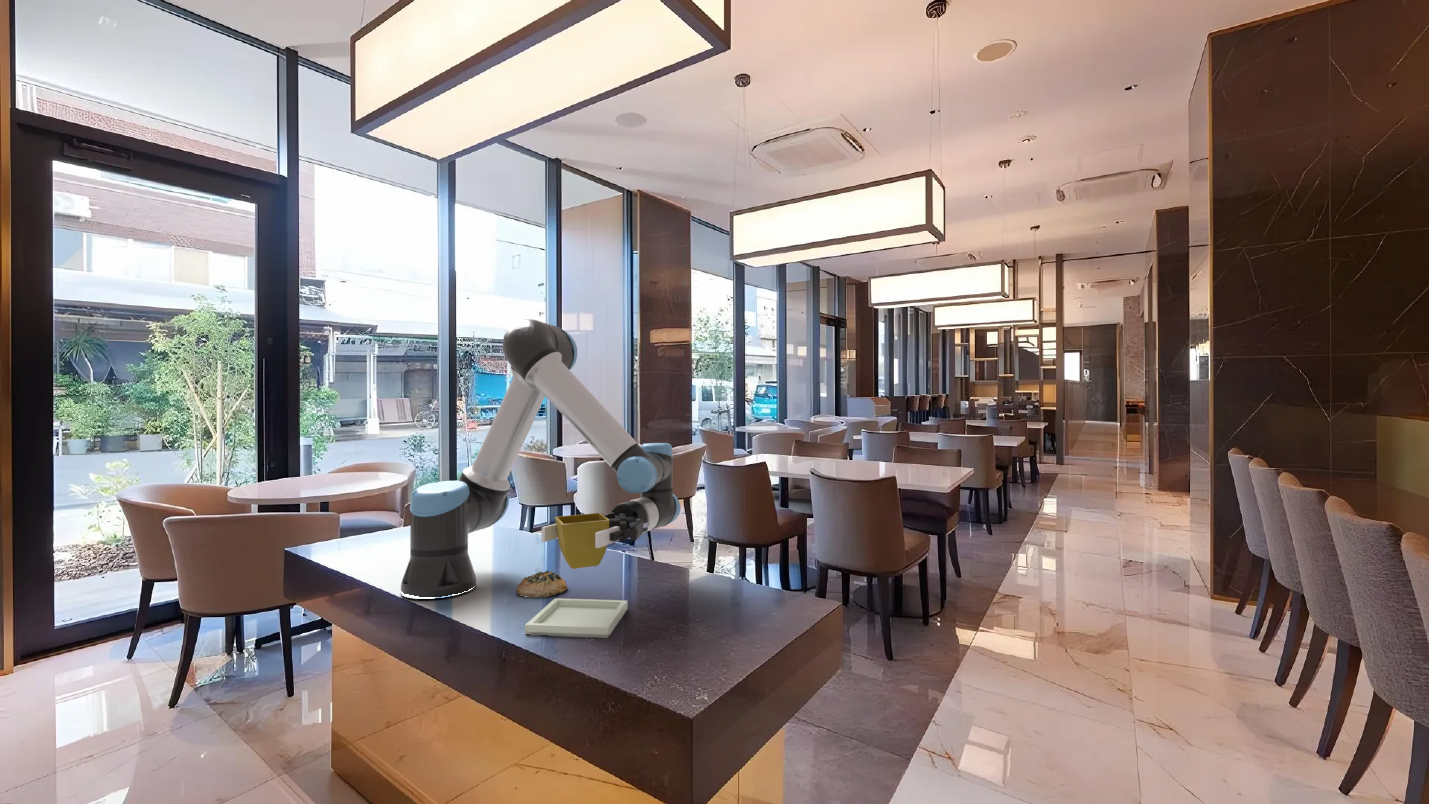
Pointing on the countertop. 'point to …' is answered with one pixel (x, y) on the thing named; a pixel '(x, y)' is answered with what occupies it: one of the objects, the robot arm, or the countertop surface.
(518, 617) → the countertop surface
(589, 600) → the tray
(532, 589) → the bread roll
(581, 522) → the flower pot
